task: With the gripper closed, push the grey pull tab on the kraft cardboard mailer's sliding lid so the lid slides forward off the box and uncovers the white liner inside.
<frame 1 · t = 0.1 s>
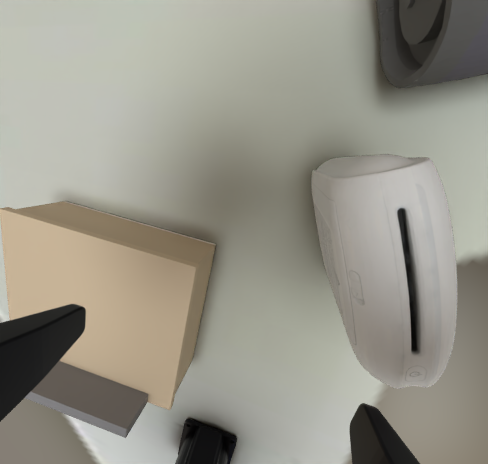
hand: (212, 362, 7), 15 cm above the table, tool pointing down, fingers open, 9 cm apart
mailer box: (132, 284, 25), on the table
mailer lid: (78, 325, 19), point 7 cm above the table, slide at 0.0 cm
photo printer: (341, 221, 20), on the table
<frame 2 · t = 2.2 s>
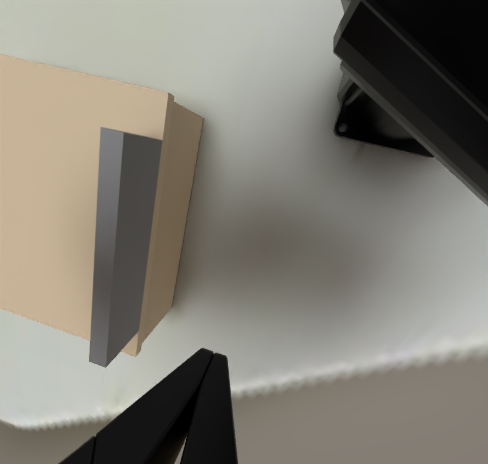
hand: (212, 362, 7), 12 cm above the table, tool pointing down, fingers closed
mailer box: (107, 201, 20), on the table
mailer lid: (20, 219, 14), point 7 cm above the table, slide at 0.0 cm
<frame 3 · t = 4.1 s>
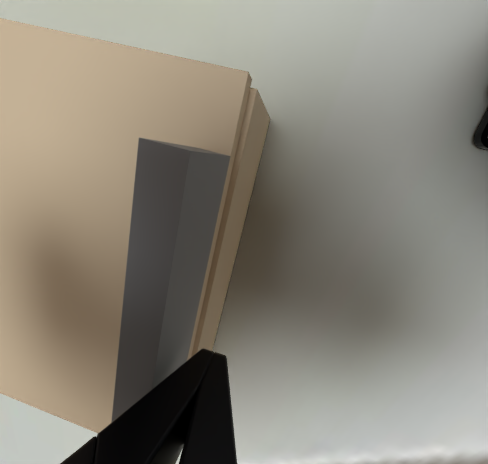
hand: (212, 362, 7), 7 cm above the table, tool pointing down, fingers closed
mailer box: (127, 230, 15), on the table
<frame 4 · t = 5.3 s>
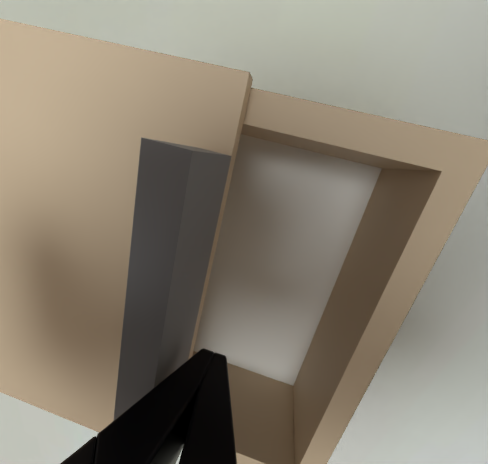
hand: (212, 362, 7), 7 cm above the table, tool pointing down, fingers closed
mailer box: (229, 261, 14), on the table
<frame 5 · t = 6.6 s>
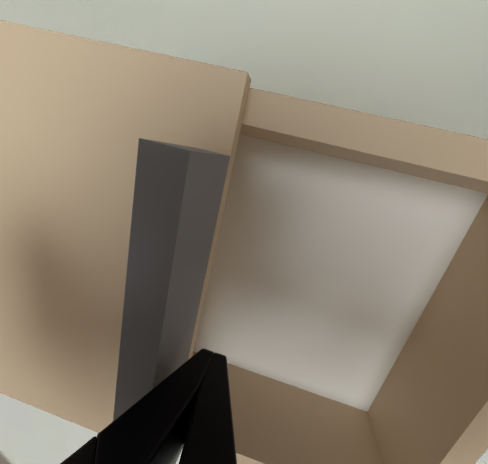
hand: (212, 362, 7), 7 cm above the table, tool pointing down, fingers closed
mailer box: (307, 285, 14), on the table
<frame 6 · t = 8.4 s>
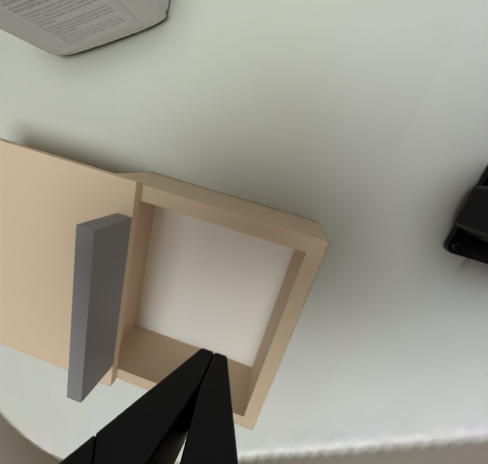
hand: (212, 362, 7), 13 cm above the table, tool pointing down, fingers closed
mailer box: (209, 282, 21), on the table
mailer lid: (10, 274, 16), point 7 cm above the table, slide at 11.8 cm
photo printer: (108, 13, 17), on the table
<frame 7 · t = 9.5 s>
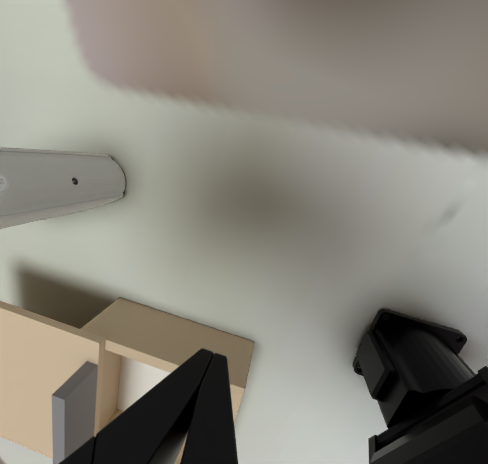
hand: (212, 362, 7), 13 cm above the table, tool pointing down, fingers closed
mailer box: (173, 379, 26), on the table
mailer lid: (9, 401, 21), point 7 cm above the table, slide at 11.8 cm
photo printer: (80, 186, 22), on the table
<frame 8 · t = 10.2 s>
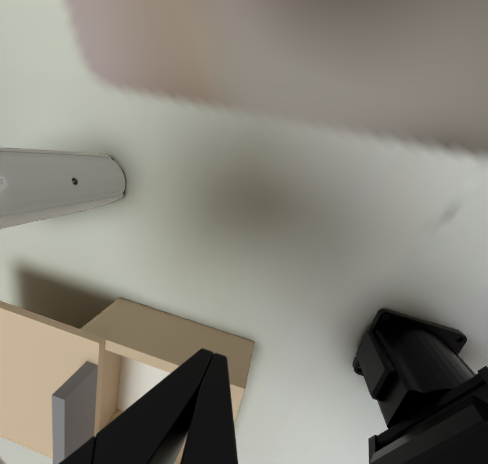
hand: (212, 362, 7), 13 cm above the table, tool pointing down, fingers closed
mailer box: (173, 379, 26), on the table
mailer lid: (9, 401, 21), point 7 cm above the table, slide at 11.8 cm
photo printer: (80, 186, 22), on the table
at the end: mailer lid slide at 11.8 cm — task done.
